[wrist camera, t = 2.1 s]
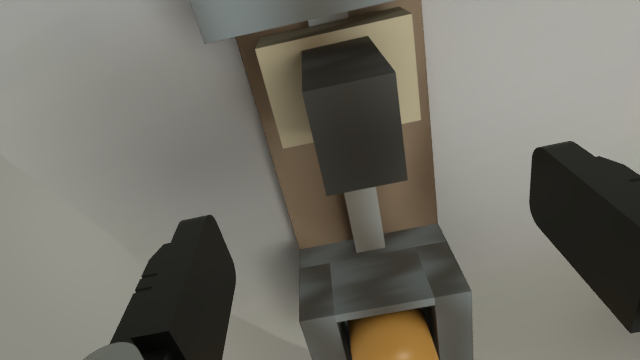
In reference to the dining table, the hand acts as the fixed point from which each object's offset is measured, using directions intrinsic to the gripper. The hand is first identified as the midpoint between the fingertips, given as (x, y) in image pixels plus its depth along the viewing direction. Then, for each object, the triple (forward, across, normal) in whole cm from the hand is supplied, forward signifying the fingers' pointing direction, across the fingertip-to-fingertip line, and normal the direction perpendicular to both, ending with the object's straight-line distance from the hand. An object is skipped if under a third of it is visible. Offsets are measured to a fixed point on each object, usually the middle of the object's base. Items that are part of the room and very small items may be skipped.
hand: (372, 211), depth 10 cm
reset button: (+10, 0, +16) cm, 19 cm away
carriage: (+13, 0, 0) cm, 13 cm away
